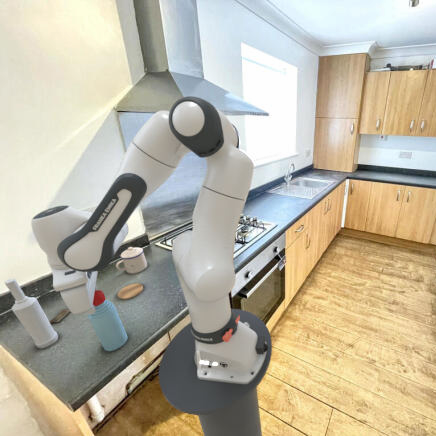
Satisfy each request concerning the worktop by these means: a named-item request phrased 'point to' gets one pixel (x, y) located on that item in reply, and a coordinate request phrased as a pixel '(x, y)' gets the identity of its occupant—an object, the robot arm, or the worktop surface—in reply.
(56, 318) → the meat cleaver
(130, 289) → the coaster
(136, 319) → the worktop surface
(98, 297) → the cap
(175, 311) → the worktop surface
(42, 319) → the bottle
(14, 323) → the worktop surface
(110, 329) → the water bottle
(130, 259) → the teacup with lid
